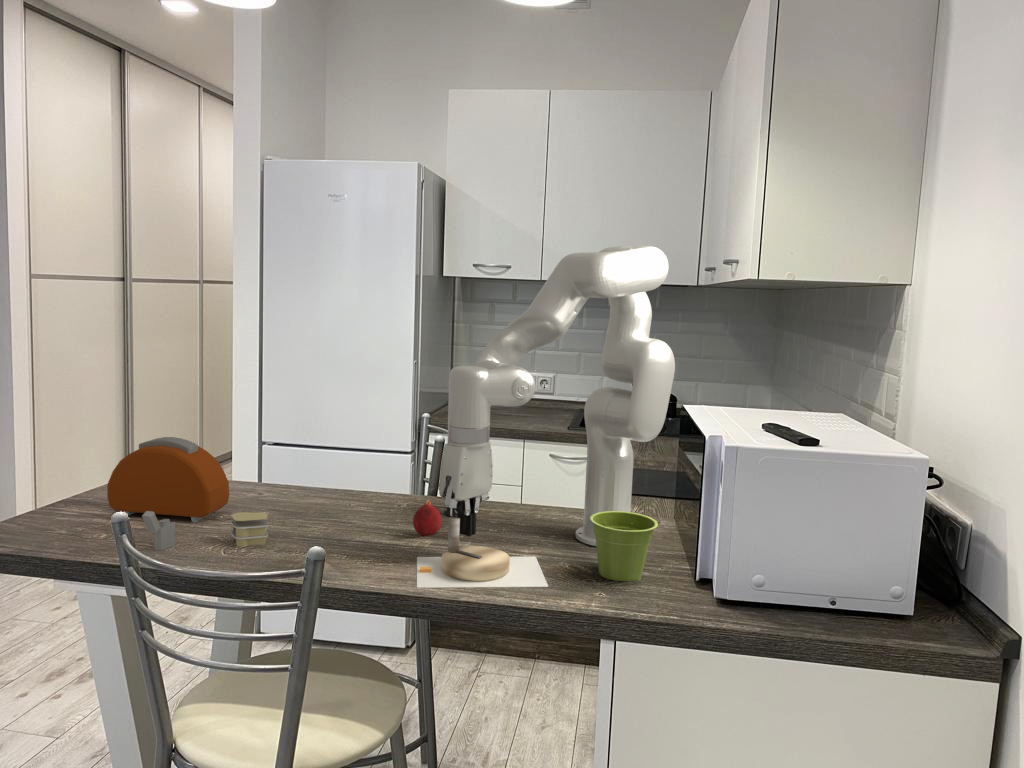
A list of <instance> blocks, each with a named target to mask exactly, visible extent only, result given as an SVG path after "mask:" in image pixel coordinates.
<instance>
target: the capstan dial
mask: <svg viewBox="0 0 1024 768" xmlns="http://www.w3.org/2000/svg"><path fill="white" fill-rule="evenodd" d="M447 528H448V529H447V530H448V532H447V550H446V551H445V552H442V555H441V557H442V561H441V569H442V571H443V572H444V573H445V574H447V575H449V576H451V577H454V578H458V579H463V580H474V581H481V580H491V579H496V578H499V577H502V576H504V575H506V574H507V573H508V572H509V565H510V557H511V556H510V555H509V554H508V553H506V552H505V551H504V550H501V549H497V548H495V547H494V548H493V547H490V546H481V545H479V546H478V545H473V546H472V545H467V546H460V534H459V533H460V518H458V517H457V516H450V517H449V518H448V527H447Z"/></svg>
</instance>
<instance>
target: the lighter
mask: <svg viewBox="0 0 1024 768" xmlns="http://www.w3.org/2000/svg"><path fill="white" fill-rule="evenodd" d="M156 515H157V514H155V513H154V512H152V511H146V512H145V513H142V515H141V517H142V520H143V522H144V525H145V527H146V529H147V532H148V533H150V534H151V533H152V534H153V551H160V552H161V551H165V550H167V549H169V548H171V547H173V546H175V545H176V544H177V543H176V522H175V521H174V522H172V521H170V519H169V518H163V519H160V520H158V519H157V516H156Z"/></svg>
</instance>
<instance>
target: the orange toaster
mask: <svg viewBox="0 0 1024 768" xmlns="http://www.w3.org/2000/svg"><path fill="white" fill-rule="evenodd" d="M229 483H230V482H229V480H228V477H227V476H226V473H225V471H224V468H223V467H222V466H221V464H220V463H219V461H218V459H217V458H216V457H214V456H213V455H212V454H211V453H210V452H208V451H207V450H205V449H204V448H203V447H201V446H199V445H198V444H197V443H195V442H193V441H191V440H188V439H184V438H181V437H176V436H175V437H174V436H165V437H157V438H153V439H151V440H146V441H144V442H141V443H139V444H138V448H137V449H136V450H134V451H132V452H130V453H129V454H127V455H125V456H124V457H123V458H121V459H120V460H119V462H118V464H117V465H115V468H114V469H113V470H112V472H111V475H110V477H109V480H108V482H107V485H106V486H107V488H106V489H107V492H106V493H107V500H108V505H109V507H111V508H112V509H113V510H114V511H118V512H123V511H125V512H126V513H128V515H129V516H128V517H130V515H131V516H133V515H135V514H138V513H140V514H144V513H145V512H146V511H152V512H154V513H155V515H161V516H162V515H163V516H174V517H175V516H176V517H186V518H187V517H188V518H189V517H190V519H191V522H192V523H197V522H199V521H201V520H203V519H204V517H205V518H206V517H208V516H210V515H212V514H214V513H216V512H217V511H219V510H221V509H222V508H223V507H225V506H226V505H228V502H229V498H230V485H229ZM213 512H214V513H213ZM132 514H133V515H132Z"/></svg>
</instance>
